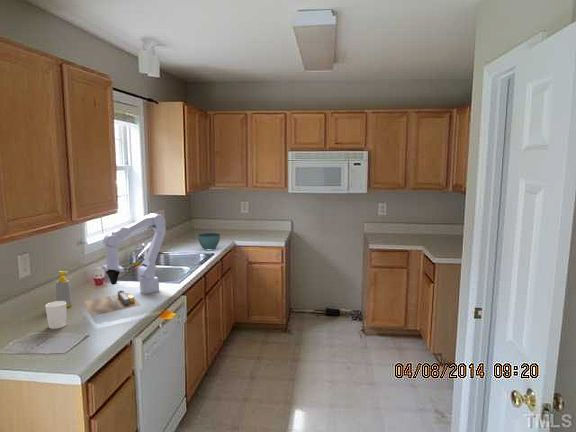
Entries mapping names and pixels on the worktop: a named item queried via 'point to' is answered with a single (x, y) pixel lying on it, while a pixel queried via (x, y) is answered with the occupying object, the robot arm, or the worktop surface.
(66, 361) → the worktop surface
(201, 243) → the plant pot
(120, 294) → the swing bar
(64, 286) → the soap bottle
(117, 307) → the latch board
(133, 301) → the light wood small block
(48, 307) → the white cup
